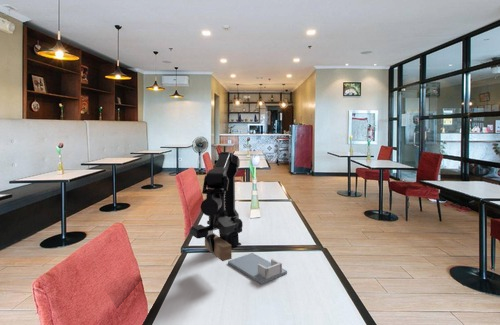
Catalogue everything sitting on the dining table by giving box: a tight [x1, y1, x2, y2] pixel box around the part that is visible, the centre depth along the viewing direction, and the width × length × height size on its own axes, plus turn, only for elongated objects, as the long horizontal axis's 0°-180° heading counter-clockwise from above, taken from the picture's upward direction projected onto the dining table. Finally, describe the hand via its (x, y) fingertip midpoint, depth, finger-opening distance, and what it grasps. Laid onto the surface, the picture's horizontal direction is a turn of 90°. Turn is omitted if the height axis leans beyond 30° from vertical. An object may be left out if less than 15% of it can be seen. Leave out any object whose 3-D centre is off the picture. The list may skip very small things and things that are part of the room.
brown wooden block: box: [204, 232, 233, 262], centre depth 111 cm, size 14×4×5 cm, turn 33°
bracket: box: [227, 252, 288, 285], centre depth 116 cm, size 20×12×4 cm, turn 38°
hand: (217, 250), depth 112 cm, fingers closed on brown wooden block, 4 cm apart
